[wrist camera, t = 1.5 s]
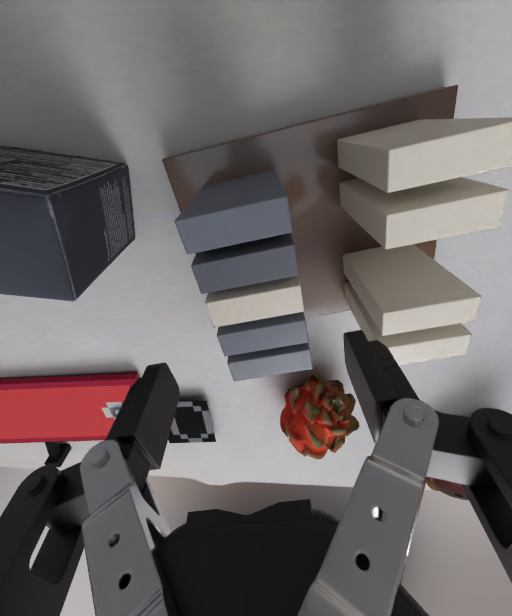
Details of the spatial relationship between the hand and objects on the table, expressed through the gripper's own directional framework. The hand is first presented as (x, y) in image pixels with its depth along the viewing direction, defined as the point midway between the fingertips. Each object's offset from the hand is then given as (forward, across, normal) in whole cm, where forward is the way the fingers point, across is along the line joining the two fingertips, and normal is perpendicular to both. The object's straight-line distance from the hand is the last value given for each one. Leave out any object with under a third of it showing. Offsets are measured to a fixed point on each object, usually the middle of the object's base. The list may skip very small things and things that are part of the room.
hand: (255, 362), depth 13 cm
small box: (+15, +14, -7) cm, 22 cm away
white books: (+13, -10, 0) cm, 17 cm away
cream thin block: (+13, 0, 0) cm, 13 cm away
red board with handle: (+15, +25, +19) cm, 35 cm away
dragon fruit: (+15, -3, +21) cm, 26 cm away
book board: (+15, -5, 0) cm, 16 cm away
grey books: (+13, 0, 0) cm, 13 cm away
